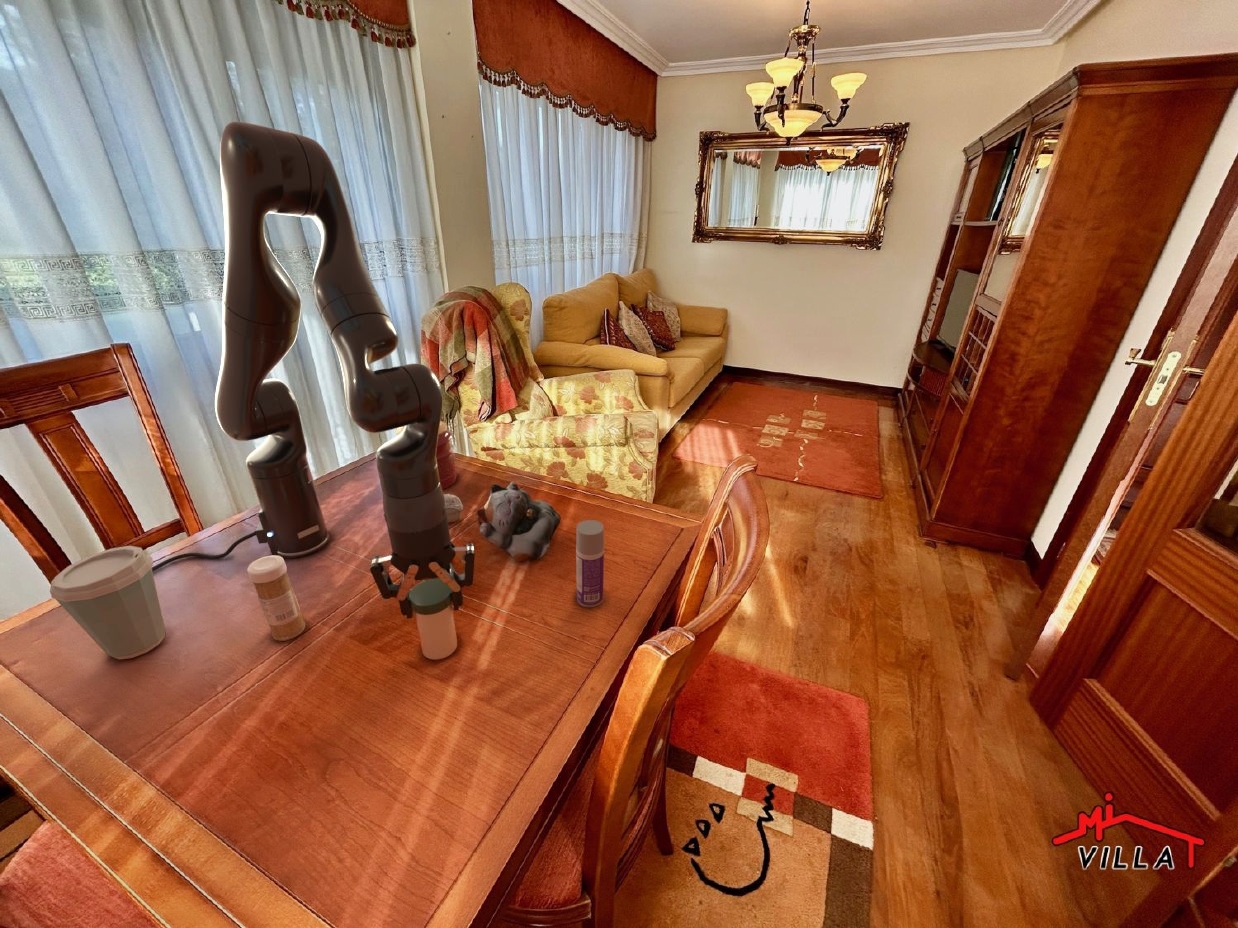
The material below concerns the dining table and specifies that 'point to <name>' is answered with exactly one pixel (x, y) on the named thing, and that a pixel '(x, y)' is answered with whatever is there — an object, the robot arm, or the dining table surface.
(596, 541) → the container
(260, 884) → the dining table surface
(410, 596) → the lid
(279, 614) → the sprinkles bottle
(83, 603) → the disposable coffee cup
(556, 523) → the lucky cat figurine
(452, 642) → the jar
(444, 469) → the kitchen canister
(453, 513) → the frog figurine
